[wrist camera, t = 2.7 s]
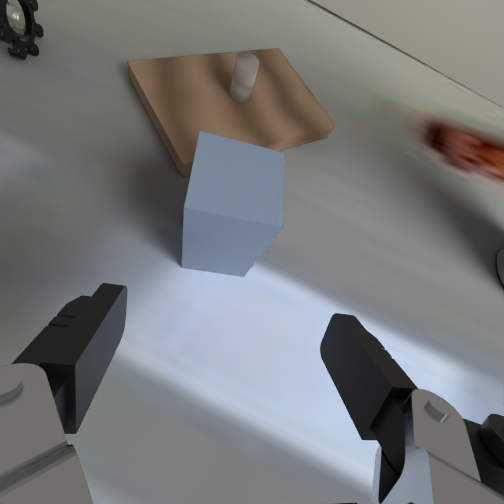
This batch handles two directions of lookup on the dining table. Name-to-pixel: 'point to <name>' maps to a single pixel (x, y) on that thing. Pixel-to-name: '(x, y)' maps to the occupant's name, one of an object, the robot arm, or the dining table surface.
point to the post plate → (228, 101)
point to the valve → (7, 17)
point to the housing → (231, 205)
